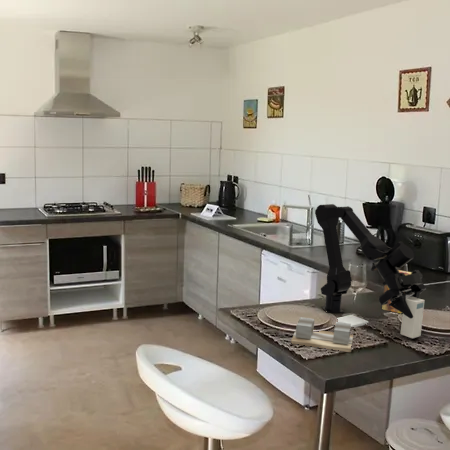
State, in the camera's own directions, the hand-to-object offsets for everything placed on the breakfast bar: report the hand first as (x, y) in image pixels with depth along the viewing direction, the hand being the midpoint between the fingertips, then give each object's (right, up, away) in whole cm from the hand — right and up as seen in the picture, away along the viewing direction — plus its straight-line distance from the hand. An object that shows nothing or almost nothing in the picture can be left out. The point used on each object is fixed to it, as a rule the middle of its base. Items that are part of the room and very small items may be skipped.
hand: (416, 316), depth 189 cm
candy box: (+2, -3, +31) cm, 31 cm away
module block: (-1, -6, +2) cm, 7 cm away
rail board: (-31, -7, -4) cm, 32 cm away
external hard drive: (-19, -5, +14) cm, 25 cm away
